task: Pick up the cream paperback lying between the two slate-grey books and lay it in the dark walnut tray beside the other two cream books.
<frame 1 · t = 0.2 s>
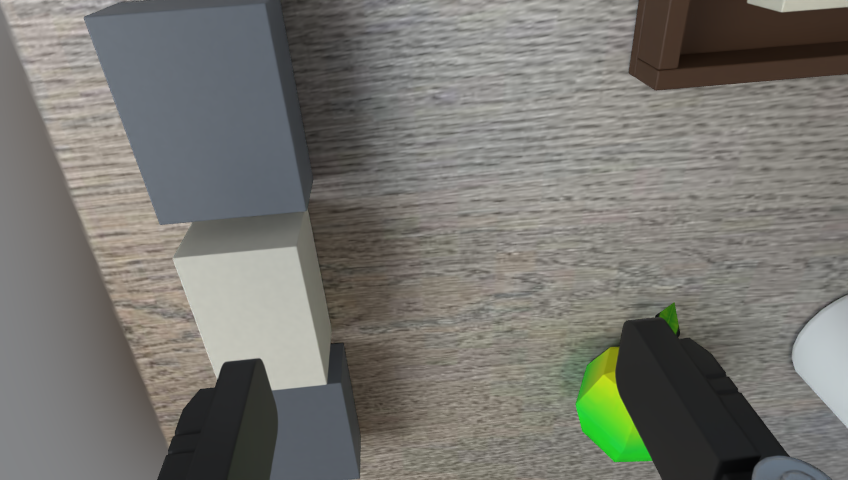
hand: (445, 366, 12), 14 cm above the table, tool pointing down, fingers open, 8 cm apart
white book: (270, 275, 27), on the table
grey books: (270, 275, 27), on the table
apple: (616, 349, 33), on the table
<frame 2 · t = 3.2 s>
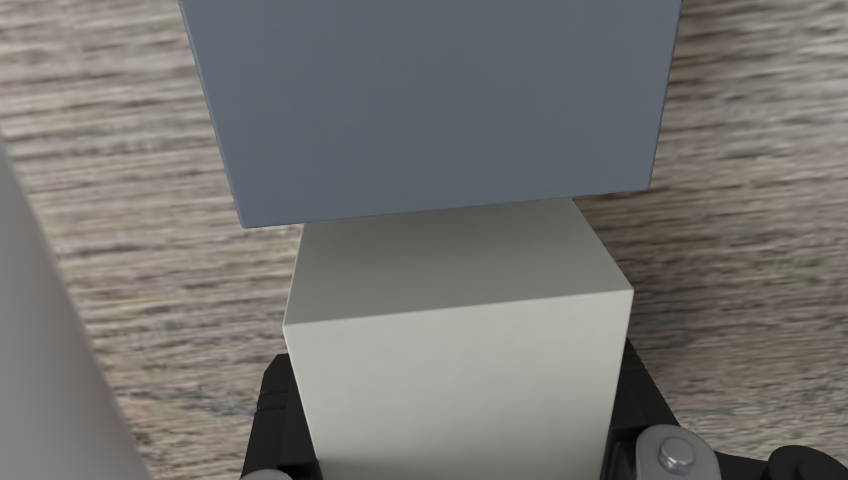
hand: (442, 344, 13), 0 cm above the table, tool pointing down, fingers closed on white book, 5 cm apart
white book: (441, 332, 13), on the table, touching gripper
grey books: (441, 332, 13), on the table
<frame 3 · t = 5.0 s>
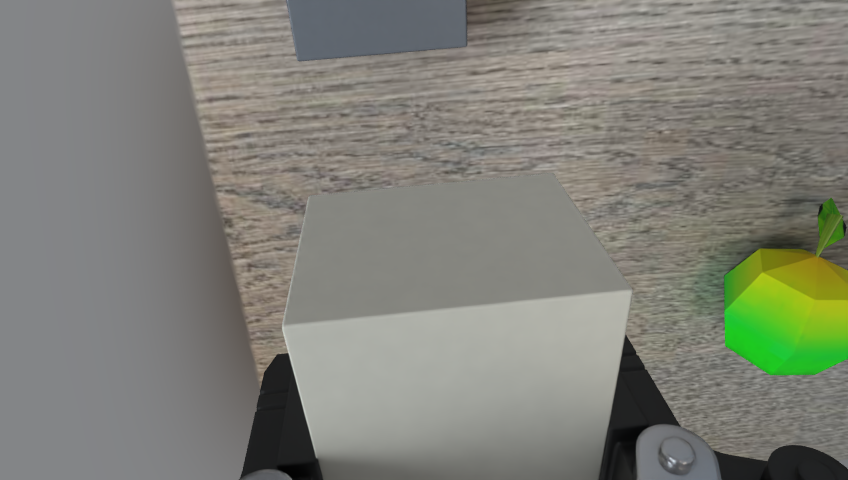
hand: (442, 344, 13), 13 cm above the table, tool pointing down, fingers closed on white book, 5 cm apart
white book: (440, 332, 13), point 13 cm above the table, touching gripper
grey books: (393, 154, 24), on the table
apple: (757, 258, 29), on the table
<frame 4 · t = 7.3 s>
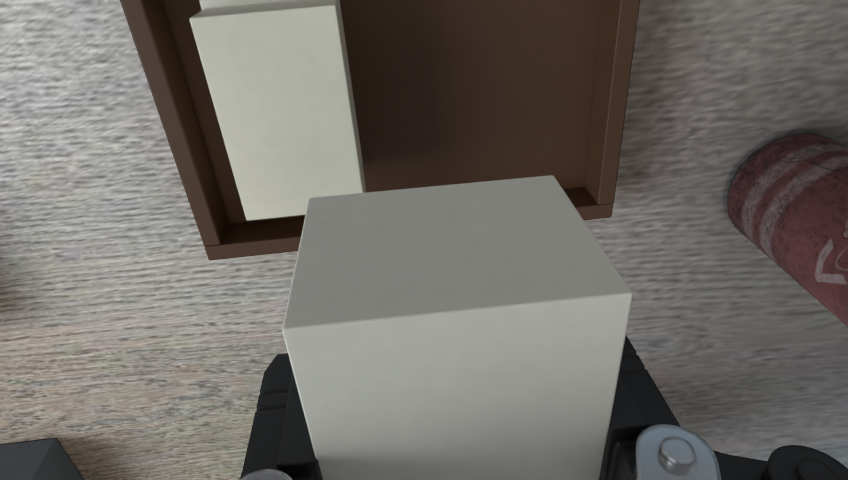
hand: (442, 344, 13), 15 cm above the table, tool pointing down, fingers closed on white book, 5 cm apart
white book: (440, 334, 13), point 15 cm above the table, touching gripper
white books: (294, 86, 24), resting on tray
tray: (395, 72, 25), on the table
can: (774, 184, 30), on the table
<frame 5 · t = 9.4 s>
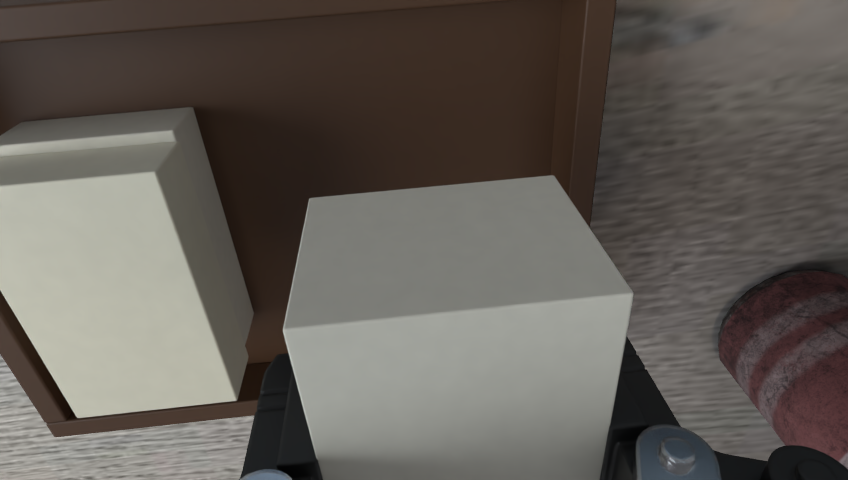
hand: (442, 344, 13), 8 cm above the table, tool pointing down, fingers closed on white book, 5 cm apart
white book: (441, 334, 13), point 7 cm above the table, touching gripper
white books: (152, 229, 18), resting on tray
tray: (289, 207, 19), on the table
can: (776, 320, 24), on the table
when the fingers open (1 cm above the table, at t = 11.4 s): white book stays where it is, resting on tray.
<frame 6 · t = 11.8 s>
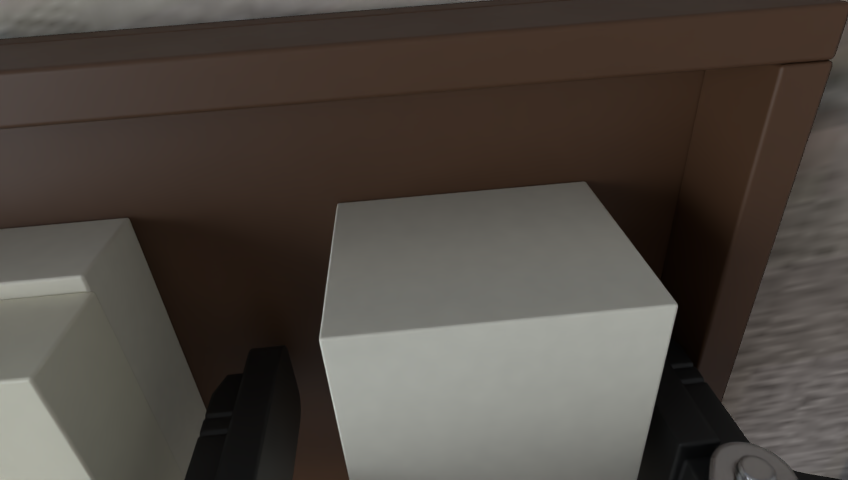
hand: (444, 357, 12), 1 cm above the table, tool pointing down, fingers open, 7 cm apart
white book: (466, 341, 13), point 1 cm above the table, touching tray
white books: (80, 375, 13), resting on tray
tray: (279, 339, 13), on the table
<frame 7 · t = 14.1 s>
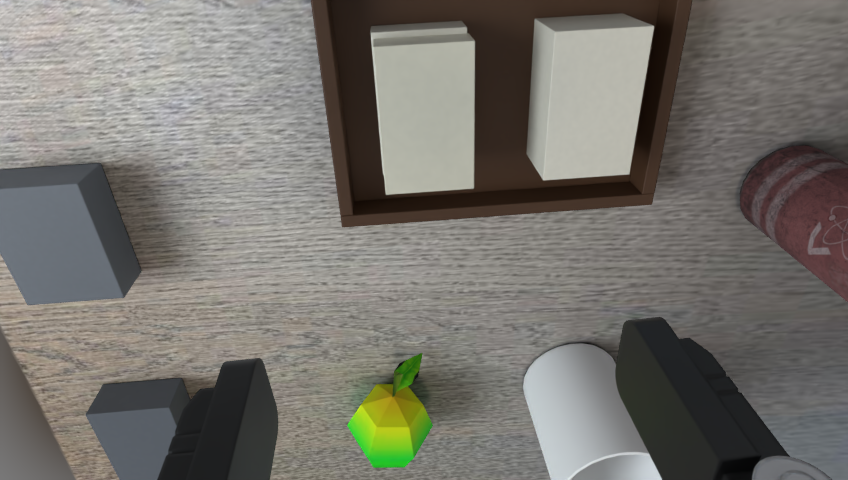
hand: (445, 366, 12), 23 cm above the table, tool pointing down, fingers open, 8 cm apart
white book: (571, 87, 32), point 1 cm above the table, touching tray
white books: (419, 95, 32), resting on tray
grey books: (121, 331, 39), on the table
apple: (390, 385, 45), on the table
tray: (494, 88, 32), on the table
mug: (591, 376, 46), on the table
can: (777, 184, 38), on the table
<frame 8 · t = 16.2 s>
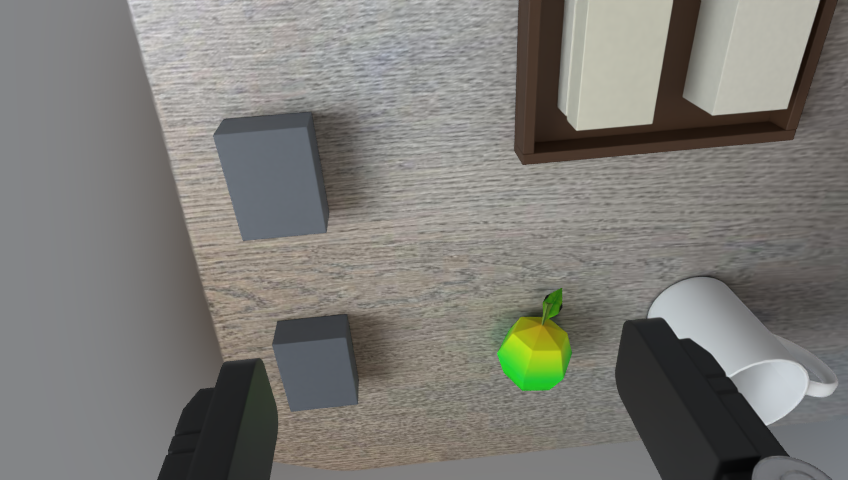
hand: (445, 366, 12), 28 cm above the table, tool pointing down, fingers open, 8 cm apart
white book: (729, 35, 36), point 1 cm above the table, touching tray
white books: (598, 44, 36), resting on tray
grey books: (301, 270, 44), on the table
apple: (528, 319, 49), on the table
tray: (660, 37, 37), on the table
mug: (708, 309, 50), on the table
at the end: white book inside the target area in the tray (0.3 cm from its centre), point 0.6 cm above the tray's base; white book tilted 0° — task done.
